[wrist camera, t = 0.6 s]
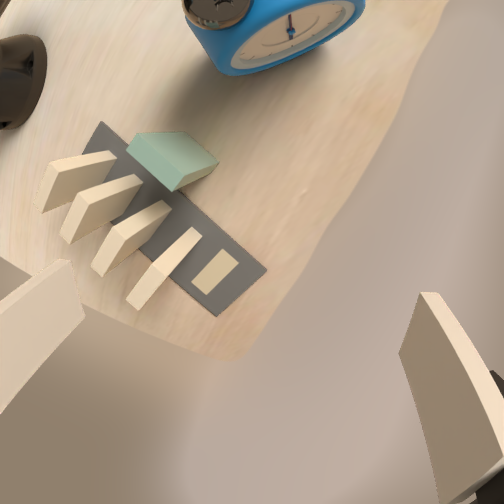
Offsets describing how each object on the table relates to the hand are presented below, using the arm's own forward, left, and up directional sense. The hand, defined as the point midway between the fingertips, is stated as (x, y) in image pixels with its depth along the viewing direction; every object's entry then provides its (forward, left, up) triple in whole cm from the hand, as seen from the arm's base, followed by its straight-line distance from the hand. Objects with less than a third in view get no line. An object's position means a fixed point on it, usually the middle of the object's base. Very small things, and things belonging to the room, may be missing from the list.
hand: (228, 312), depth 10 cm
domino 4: (-9, -2, -22) cm, 23 cm away
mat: (-8, -11, -22) cm, 26 cm away
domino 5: (-3, -11, -21) cm, 24 cm away
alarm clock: (-11, +13, -22) cm, 27 cm away
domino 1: (-17, -11, -21) cm, 29 cm away
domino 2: (-12, -11, -21) cm, 27 cm away
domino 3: (-8, -11, -21) cm, 25 cm away
